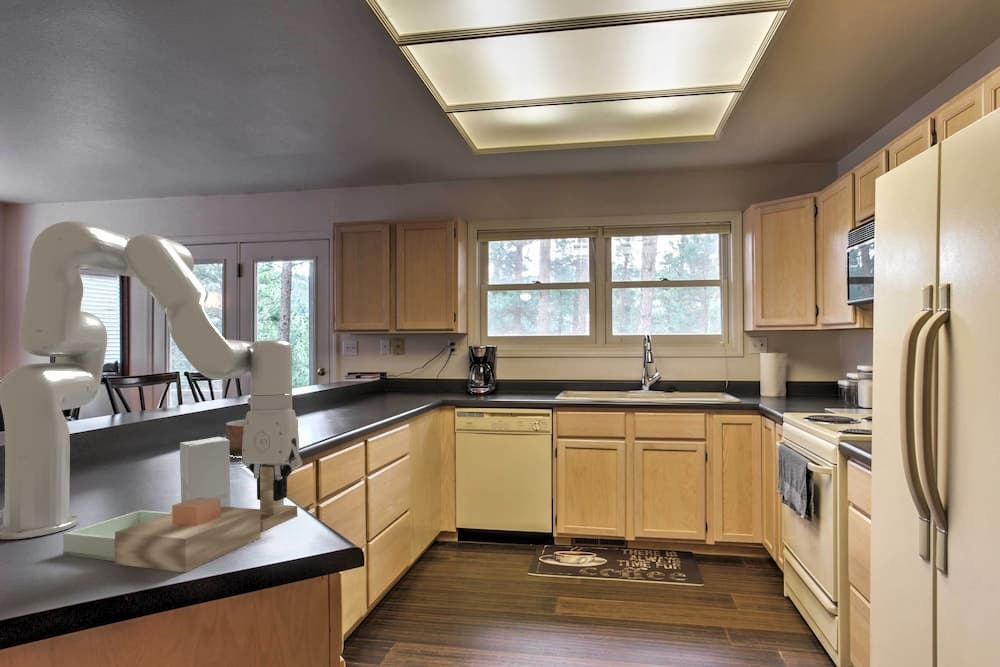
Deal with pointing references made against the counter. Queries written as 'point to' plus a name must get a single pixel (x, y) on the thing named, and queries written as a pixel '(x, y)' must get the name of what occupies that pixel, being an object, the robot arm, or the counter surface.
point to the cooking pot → (236, 436)
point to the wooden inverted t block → (272, 501)
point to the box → (103, 535)
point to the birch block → (185, 540)
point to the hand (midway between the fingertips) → (272, 497)
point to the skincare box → (205, 470)
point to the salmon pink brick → (196, 511)
